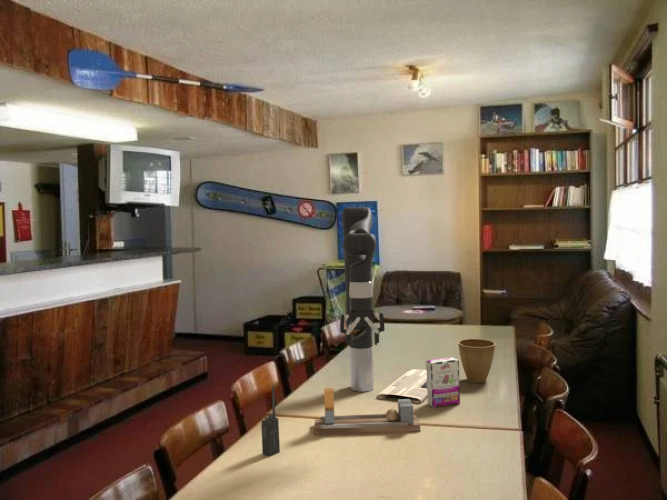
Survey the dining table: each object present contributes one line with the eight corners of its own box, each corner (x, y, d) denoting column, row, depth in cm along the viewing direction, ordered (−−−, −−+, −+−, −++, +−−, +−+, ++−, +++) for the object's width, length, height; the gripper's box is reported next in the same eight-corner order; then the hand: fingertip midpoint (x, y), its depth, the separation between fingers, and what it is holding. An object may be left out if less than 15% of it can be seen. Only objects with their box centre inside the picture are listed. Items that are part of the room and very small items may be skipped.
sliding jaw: (325, 419, 192) (324, 386, 191) (334, 418, 192) (333, 386, 191) (325, 426, 185) (324, 392, 185) (334, 426, 186) (333, 392, 185)
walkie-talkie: (272, 449, 174) (270, 384, 173) (280, 451, 172) (278, 385, 171) (261, 454, 171) (258, 388, 170) (269, 457, 169) (266, 390, 167)
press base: (314, 425, 193) (314, 401, 193) (415, 421, 194) (415, 397, 194) (314, 435, 184) (313, 410, 184) (420, 431, 185) (419, 406, 185)
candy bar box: (454, 400, 215) (453, 356, 214) (460, 404, 210) (459, 359, 209) (426, 403, 212) (425, 359, 211) (432, 407, 207) (431, 362, 206)
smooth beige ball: (385, 419, 191) (385, 407, 191) (397, 418, 191) (397, 406, 191) (386, 423, 187) (386, 411, 187) (399, 422, 187) (398, 410, 187)
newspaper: (421, 405, 212) (421, 397, 212) (372, 399, 220) (372, 391, 220) (448, 378, 245) (447, 372, 245) (404, 374, 253) (404, 367, 253)
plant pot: (454, 383, 235) (453, 344, 234) (464, 374, 248) (463, 337, 247) (491, 387, 228) (490, 347, 227) (499, 377, 241) (498, 340, 241)
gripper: (381, 293, 189) (382, 341, 190) (338, 294, 188) (339, 343, 189) (384, 296, 182) (386, 346, 183) (339, 297, 181) (341, 348, 182)
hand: (362, 345), depth 186 cm, fingers open, 8 cm apart
